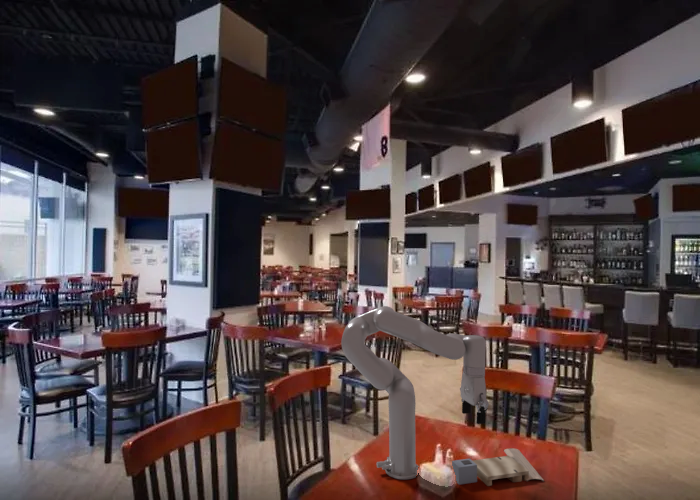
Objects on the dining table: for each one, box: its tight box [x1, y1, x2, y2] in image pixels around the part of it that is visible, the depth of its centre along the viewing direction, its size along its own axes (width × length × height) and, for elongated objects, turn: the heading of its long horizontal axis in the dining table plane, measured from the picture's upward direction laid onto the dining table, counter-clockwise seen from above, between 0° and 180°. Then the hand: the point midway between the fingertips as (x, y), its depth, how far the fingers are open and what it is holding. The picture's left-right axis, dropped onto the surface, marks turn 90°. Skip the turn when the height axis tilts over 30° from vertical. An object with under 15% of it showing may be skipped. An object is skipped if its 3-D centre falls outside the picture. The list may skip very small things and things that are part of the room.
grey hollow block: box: [451, 458, 478, 485], centre depth 157 cm, size 7×5×6 cm
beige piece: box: [503, 447, 545, 482], centre depth 167 cm, size 24×7×2 cm, turn 0°
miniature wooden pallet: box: [471, 455, 529, 487], centre depth 160 cm, size 16×12×3 cm
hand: (473, 418), depth 161 cm, fingers open, 9 cm apart
